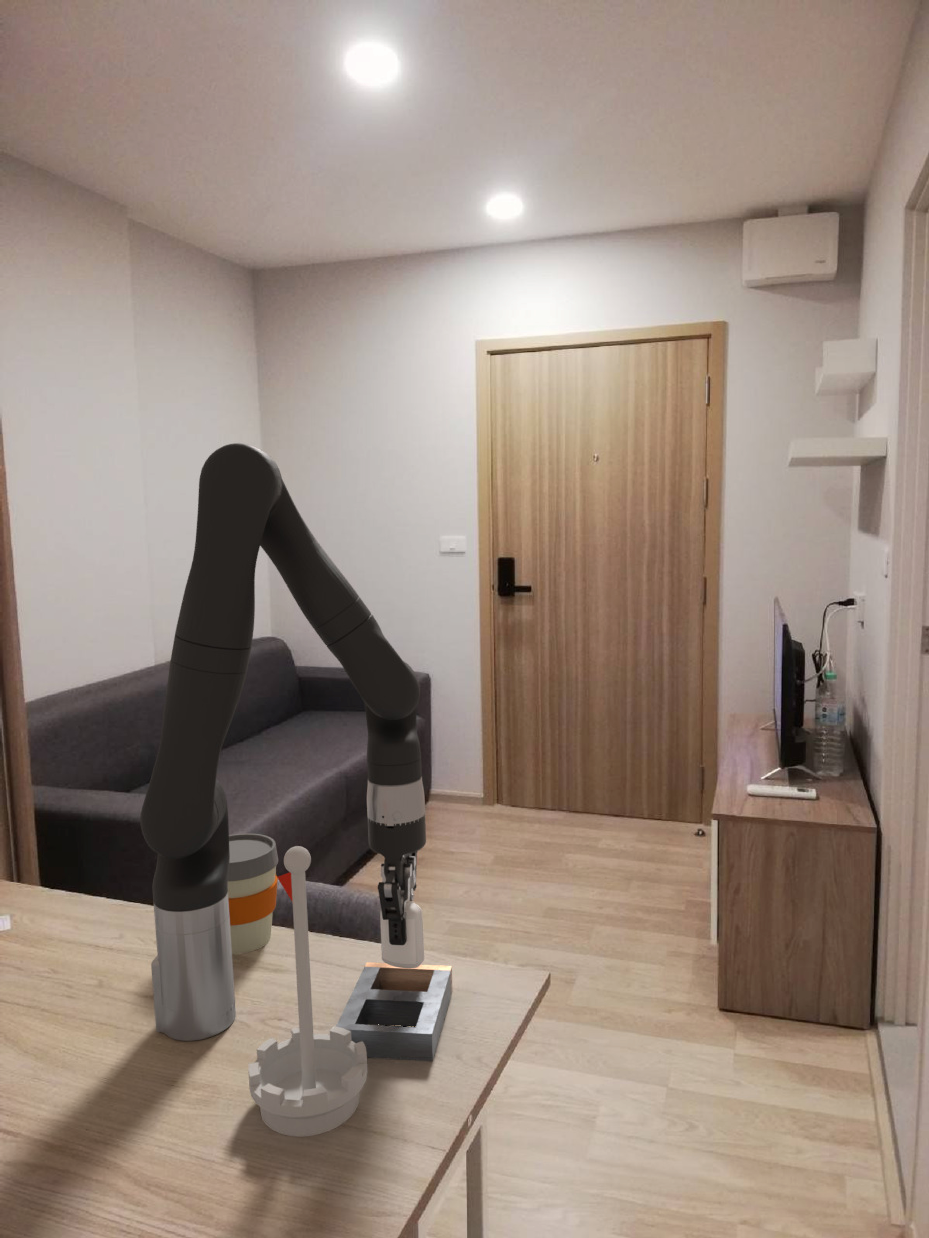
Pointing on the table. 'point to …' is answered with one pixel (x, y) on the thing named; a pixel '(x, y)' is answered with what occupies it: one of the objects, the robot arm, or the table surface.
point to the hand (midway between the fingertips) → (401, 935)
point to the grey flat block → (398, 1010)
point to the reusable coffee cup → (251, 890)
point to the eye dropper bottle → (414, 946)
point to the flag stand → (306, 1046)
